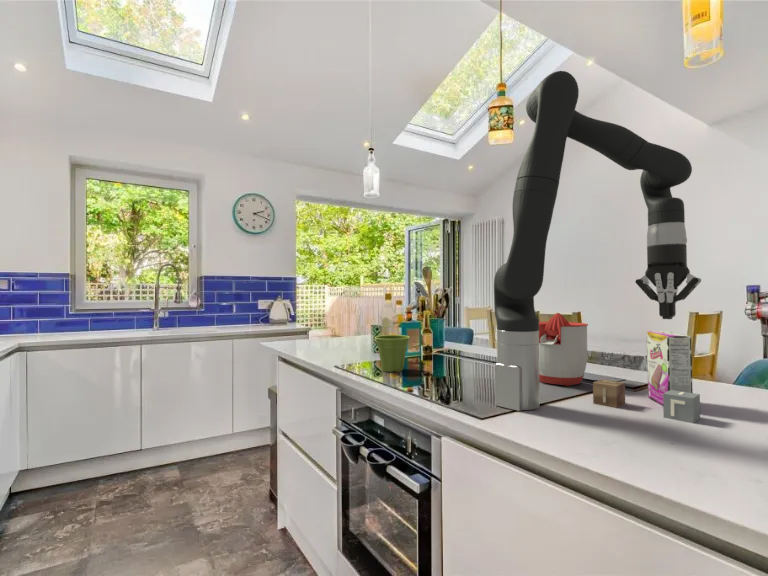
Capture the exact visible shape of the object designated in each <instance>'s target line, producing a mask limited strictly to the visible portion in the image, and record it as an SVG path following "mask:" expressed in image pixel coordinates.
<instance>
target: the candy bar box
mask: <svg viewBox="0 0 768 576" xmlns="http://www.w3.org/2000/svg"><path fill="white" fill-rule="evenodd" d="M646 352H647V353H646V354H647V355H646V357H647V358H646V359H647V360H646V361H647V397H648V398H650V399H651V400H652V401H654V402H656V403H657V404H659V405H661V406H663V394H664V393H666V392H668V391H670V390H675V391H682V392H688V393H693V357H692V356H693V355H692V353H693V352H692V336H690V335H686V334H681V333H678V332H673V331H668V330H647V331H646Z"/></svg>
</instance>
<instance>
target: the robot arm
mask: <svg viewBox="0 0 768 576" xmlns="http://www.w3.org/2000/svg"><path fill="white" fill-rule="evenodd" d="M579 91H580V90H579V85H578V82H577V79H575V77H574V76H573V75H572V74H571V73H570V72H568V71H565V70H558V71H555V72H552V73H550V74H548V75H547V76H546V77H544V78H543V79H542V80H541V81H540V82H539V84H538V85H537V86H536V88H535V89H534V90H533V91H532V93H531V94H530V95H529V97H528V98H527V101H526V105H525V111H526V114H527V116H528V117H529V119H530V121H532V122H533V123H535V126H534V130H533V131H534V132H533V134H532V138H531V140H530V142H529V145H528V147H527V149H526V151H525V154H524V156H523V159H522V161H521V164H520V166H519V169H518V172H517V176H516V181H515V185H514V191H513V196H512V197H513V198H512V222H513V224H512V225H513V236H512V240H511V241H512V242H511V246H510V250H509V254H508V257H507V259H506V263H504V264H502V265H500V267H499V268H498V269H497V271H495V274H494V280H493V298H494V299H493V300H494V316H495V317H494V318H495V320H496V359H497V360H496V363H495V364H494V366H495V367H494V372H495V373H494V375H495V376H494V379H495V381H494V383H495V384H494V386H495V389H494V391H495V393H494V394H495V396H494V397H495V398H494V399H495V403H494V405H495V406H497V407H502V408H505V409H510V410H514V411H518V412H521V411H529V410H532V411H533V410H536V409H539V408H540V406H541V405H540V404H541V403H540V402H541V400H540V399H541V398H540V397H541V396H540V393H541V392H540V387H541V386H540V381H539V322H540V320H539V317H538V316H537V314H536V309H535V301H534V300H535V296H536V295H538V293H539V292H540V290H541V288H542V286H543V282H544V277H545V276H544V271H545V258H546V249H547V240H548V236H549V230H550V228H551V224H552V219H553V214H554V209H555V204H556V201H557V195H558V191H559V186H560V179H561V172H562V168H563V162H564V157H565V156H564V155H565V149H566V143H567V138H569V139H571V140H574V141H576V142H578V143H580V144H582V145H584V146H586V147H588V148H590V149H592V150H594V151H596V152H598V153H600V155H603V156H604V157H606V158H607V159H608V160H610V161H612V162H614V163H615V164H617V165H618V166H619V167H622V168H623V169H625V170H628V171H636V170H638V171H639V170H642V172H641V176H640V179H639V180H640V181H639V182H640V183H639V185H640V188H641V189H640V190H641V193H642V197H643V199H644V202H645V205H646V207H647V231H646V232H647V233H646V256H647V258H646V259H647V261H646V265H647V268H646V270H645V273H644V274H645V275H643V276H642V277H641V278H639V279H637V278H636V280H635V284H636V285H637V286H638V287H639V288H640V289H641V290H642V292H643V293H644V294H645V295H646V296H647V297H648V298H649V299H650V300H652V301H655V302H658V305H659V307H658V309H659V310H658V311H659V316H660V317H662V320H673V318H674V317H675V316H676V315H677V314H676V312H677V311H676V303H677V302H679V301H684V300H685V299H687V297H688V296H690V295H691V293H692V292H693V291H694V289H696V288H697V287H698V286H699V284H700V283H701V282H702V279H701V277H696V276H695V275H693V274H691V272H690V268H688V258H687V257H688V256H687V255H688V253H687V243H688V238H687V231H686V224H685V221H686V219H685V215H686V214H685V204H684V200H683V199H681V198H680V197H675V196H674V197H673V195H672V191H671V188H674V187H676V186H679V185H681V184H683V183H685V182H686V181H688V180H689V178H690V177H691V175H692V171H693V167H692V164H691V162H690V160H689V159H688V157H686V156H685V154H683V153H681V152H679V151H677V150H675V149H671V148H669V147H666V146H662V145H659V144H656V143H652V142H649V141H648V140H646V139H644V138H643V137H642V136H640V135H638V134H637V133H635V132H634V131H632V130H631V129H628V128H626V127H625V126H623V125H620V124H616V123H612V122H609V121H604V120H599V119H597V118H592V117H589V116H587V115H585V114H583V113H580V112H579V111H577V110H576V107H577V104H578V100H579V93H580V92H579ZM684 281H685V283H686V285H685V286H684V287H683V288H682V289H681V291H680V292H679V291H678V290H679V287H680V286H681V285H682V284H683V282H684ZM650 282H651V284H652V285H653V286H654V287H656V292H655V290H654V289H653V288H652V287H651V286H650ZM678 292H679V293H678Z"/></svg>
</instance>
